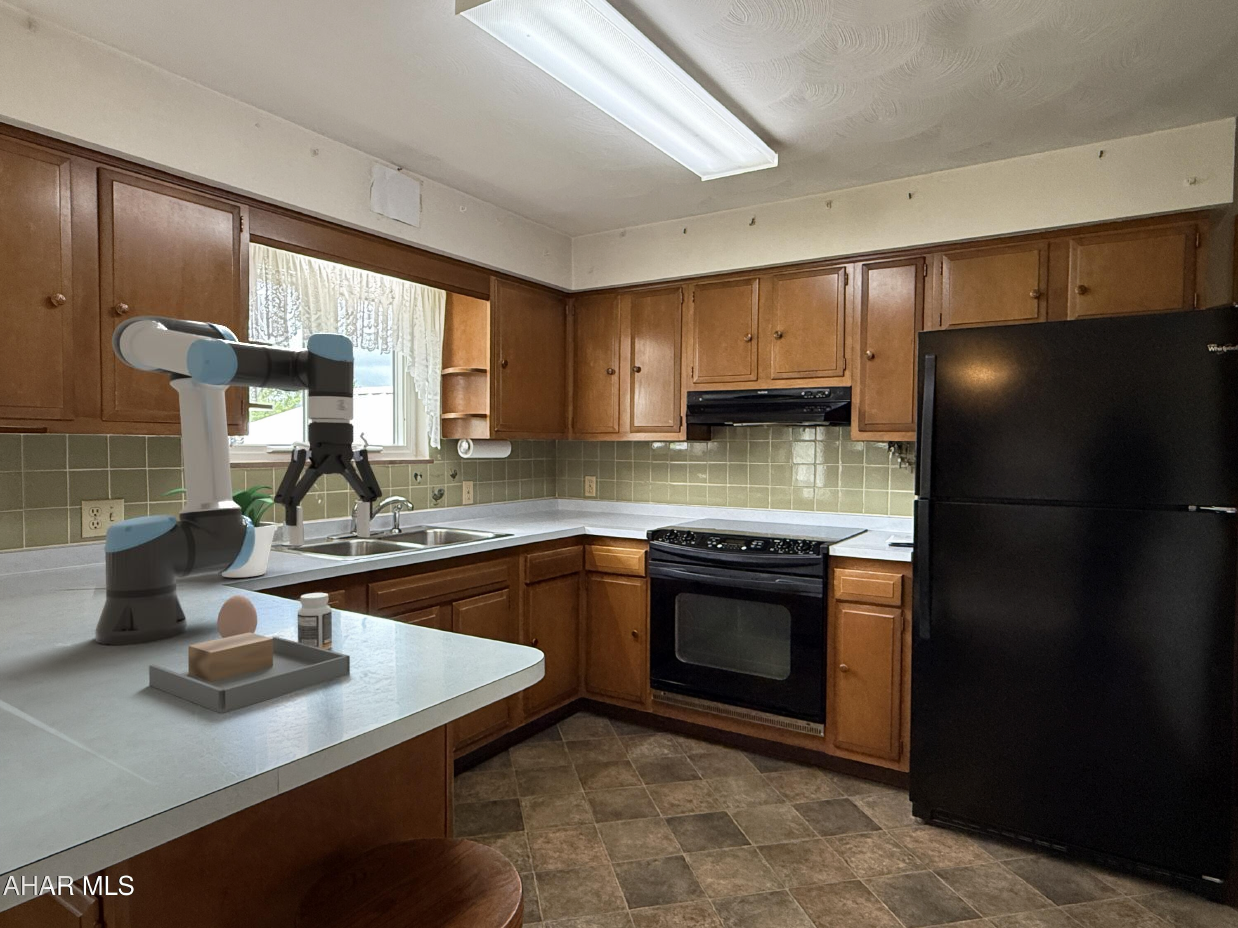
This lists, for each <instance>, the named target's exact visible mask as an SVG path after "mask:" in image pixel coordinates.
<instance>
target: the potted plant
mask: <svg viewBox="0 0 1238 928" xmlns="http://www.w3.org/2000/svg"><path fill="white" fill-rule="evenodd" d="M260 489H268V490H273V489H272V488H271V486H268V485H264V484H261V485H260V484H259V485H254V486H251V487H250V488H248V489H247V490H245V489H233V488H232V499H233V501H234V502H235V503H236V504H237V505H239V506H240V507H241V514H242V515H243V516H246V517H248V518H249V519H250V520H251V521H252V525H254V529H255V546H254V550H253V553H252V555H251V557H250V558H249V561H248V562H247V563H246V564H245V565H244V566H243V567H241V568H239V569H236V570H230V571H226V572H224V573H221V575H222V577H225V578H249V577H257V576H261V575H265V574H266V571H267V568H268V563H269V558H270V554H271V549H272V543H273V539H274V534H275V531H277V530H278V528H279V522H278V523H277V522H272V521H261V520H262V517H263V516H264V514H265V513H266V512H267V511H268V510H269V509H270V508H272V506H273V505H275V504H276V503H275V502H274V499H272V498H271V495H270V494H269V493H268V494H267V493H264V492H259V490H260ZM177 494H186V488H177V489H174V490H170V491H168V492H167V493H164V494H162V495H161V496H160V497H161V498H162V497H168V496H172V495H177ZM265 503H267V504H266V505H265V506H264V504H265ZM263 506H264V507H263ZM261 509H262V510H261Z"/></svg>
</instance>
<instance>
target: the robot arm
mask: <svg viewBox="0 0 1238 928" xmlns="http://www.w3.org/2000/svg"><path fill="white" fill-rule="evenodd" d="M353 343H354V342H353V339H351V337H349V336H348V335H345V334H339V333H330V332H327V333H325V332H319V333H318V332H317V333H312V334H311V335H309V337H308V339H307V345H306V348H300V349H299V348H287V347H279V346H271V345H270V346H269V345H261V344H251V343H246V342H239V340H238V338H237V336H236V335H235V334H234V333H233V332H232V331H231V330H230V329H229V328H227V326H223V325H219V324H214V323H212V322H208V321H203V322H202V321H195V320H186V319H180V318H171V317H164V316H159V315H158V316H157V315H139V316H133V317H131V318H129V319H125V320H124V321H122V322H121V323H120V324H118V325H117V327H116V328H115V329H114V332H113V334H112V338H111V346H112V349H113V351H114V354H115V356H116V357H117V358H118V359H119V360H120V361H121V362H122V363H124V364H125V365H126V366H128V367H131V368H133V369H136V370H140V371H143V372H148V373H157V374H167V375H168V376H169V378H168V379H169V385H170V386H171V387H172V388H173V389H174V390H176V391H177V393H178V399H179V412H180V413H179V414H180V425H181V426H180V427H181V442H182V455H183V457H182V458H183V469H184V470H183V471H184V483H185V489H186V493H185V496H186V504H185V506H184V507H183V508H182V509H181V510H180V511H179V512H178V514H179V515H178V517H179V520H177V519H176V516H174V515H173V514H156V515H148V516H147V515H146V516H140V517H135V518H129V519H125V520H122V521H121V520H120V521H118V522H115V523H112V525H110V526H109V527H108V528H107V530H106V532H105V545H104V548H103V550H104V553H105V556H104V557H105V590H106V591H105V594H106V595H105V603H104V606H103V609H102V611H101V614H100V616H99V619H98V621H97V625H96V627H95V631H94V632H95V633H94V634H95V642H96V643H98V644H100V643H101V644H100V645H105V644H110V645H109V646H127V645H128V644H132V645H141V644H140V643H142V644H148V643H155V642H159V641H163V640H169V639H172V638H175V637H178V636H180V634H181V635H183V634H184V633H185V631H187V628H188V625H187V624H188V623H187V622H188V621H187V618H186V615H185V613H184V610H183V609H184V608H182V604H181V602H180V600H179V598H178V594H177V579H180V578H187V577H189V578H190V577H195V576H202V575H208V574H209V575H210V574H222V573H224V572H226V571H230V570H236V569H239V568H241V567H243V566H244V565H245V564H246V563H247V562H248V561H249V558H250V557H251V555H252V553H253V550H254V546H255V529H254V525H252V521H251V520H250V519H249V518H248V517H246V516H243V515H242V514H241V507H240V506H239V505H237V504H236V503H235V502H234V501H233V499H232V489H233V487H232V473H231V463H230V462H231V461H230V449H229V435H228V421H227V410H226V407H227V405H226V396H225V395H226V393H225V392H226V391H227V389H228V388H229V387H231V386H233V387H248V388H249V387H252V388H260V389H261V388H262V389H274V390H279V391H283V392H293V393H296V392H300V391H308V393H307V394H308V395H307V418H308V420H311V422H309V424H307V434H308V435H307V441H308V443H309V448H308V450H306V449H305V448H293V449H292V450H291V456H290V457H291V458H290V462H289V465H288V467H287V468H286V472H285V473H284V476H283V478H282V480H281V482H280V484H279V487H278V489H277V491H276V493H275V495H274V498H273V500H274V502H275V504H279V505H281V506H283V507H284V509H285V514H284V515H285V516H284V517H285V519H284V520H285V525H286V526H289V545H292V546H298V547H299V546H304V519H303V518H304V514H303V513H304V508H303V506H299V505H300V504H301V502H302V500H303V499H304V498H305V496H306V495H307V494H308V493H309V491H310V489H312V487H313V486H314V484H315V483H316V482H317V481H318V479H319V478H320V477H322V476H323V475H332V474H333V475H334V474H335V475H339V474H340V475H341V476H343V478H344V480H346V482H347V483H348V484H349V486H350V487H351V488H352V489H353V491H354V492H355V493H356V495H357V496H358V497H359V500H360V501H356V513H357V514H356V536H357V537H361V538H370V537H371V531H370V530H371V522H370V520H371V519H373V513H374V511H373V504H374V503H375V502H377V500H378V499H380V498H381V497H383V492H382V489H381V488H380V485H379V482H378V481H377V478H376V476H375V473H374V471H373V468H372V466H371V464H370V462H369V456H368V455H369V454H368V449H366V448H354V449H353V447H352V445H353V443H354V425H353V423H351V422H350V421H352V420H353V419H354V377H355V376H354V374H355V373H354V370H355V369H354V368H355V365H354V364H355V363H354V362H355V357H354V346H353V345H354V344H353ZM308 460H309V461H310V464H309V465H308V467H307V468H306V469H305V471H304V472H305V473H304V474H303V476H302V477H301V478H300V476H301V474H302V472H303V470H304V468H305V465H306V462H307V461H308ZM351 461H354V463H355V466H356V467H354V465H353V464H352V462H351ZM356 468H357V469H356ZM357 470H358V473H359V474H358V473H357ZM182 633H183V634H182ZM177 635H178V636H177ZM174 636H175V637H174ZM128 646H129V645H128Z"/></svg>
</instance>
